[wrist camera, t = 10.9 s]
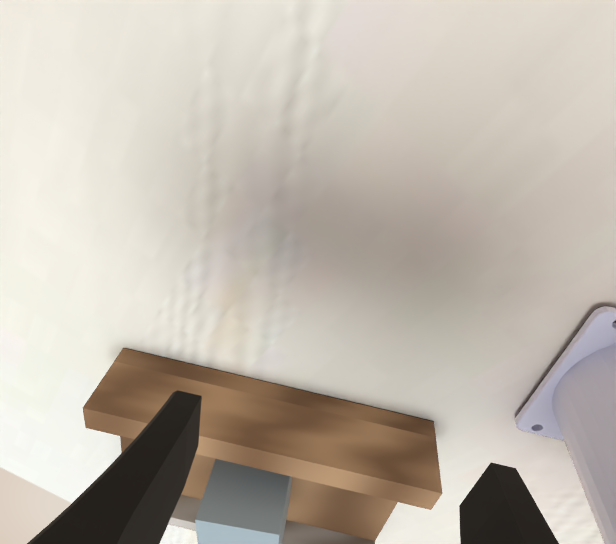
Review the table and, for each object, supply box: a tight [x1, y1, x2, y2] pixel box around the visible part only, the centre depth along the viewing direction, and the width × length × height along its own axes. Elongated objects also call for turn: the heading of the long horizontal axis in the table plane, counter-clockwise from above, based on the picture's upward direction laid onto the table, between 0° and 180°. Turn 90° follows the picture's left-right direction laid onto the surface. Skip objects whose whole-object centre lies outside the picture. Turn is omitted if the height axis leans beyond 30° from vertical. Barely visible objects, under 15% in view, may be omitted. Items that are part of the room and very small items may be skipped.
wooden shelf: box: [83, 348, 442, 544], centre depth 26 cm, size 17×13×4 cm
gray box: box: [195, 459, 292, 544], centre depth 25 cm, size 4×6×5 cm, turn 175°
